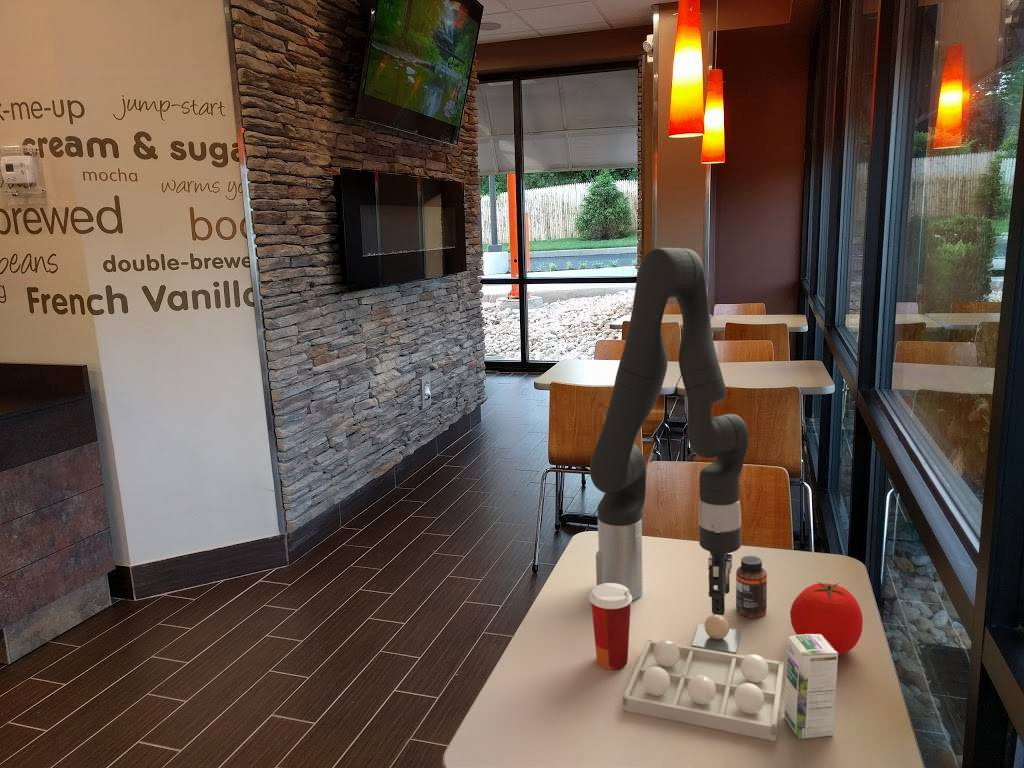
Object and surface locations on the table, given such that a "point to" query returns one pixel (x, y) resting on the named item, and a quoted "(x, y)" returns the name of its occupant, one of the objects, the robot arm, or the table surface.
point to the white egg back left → (666, 653)
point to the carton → (734, 701)
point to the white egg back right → (754, 668)
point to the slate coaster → (717, 641)
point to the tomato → (828, 615)
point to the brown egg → (716, 626)
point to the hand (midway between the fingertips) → (720, 602)
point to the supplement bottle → (751, 587)
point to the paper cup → (611, 624)
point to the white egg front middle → (701, 689)
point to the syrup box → (810, 685)
